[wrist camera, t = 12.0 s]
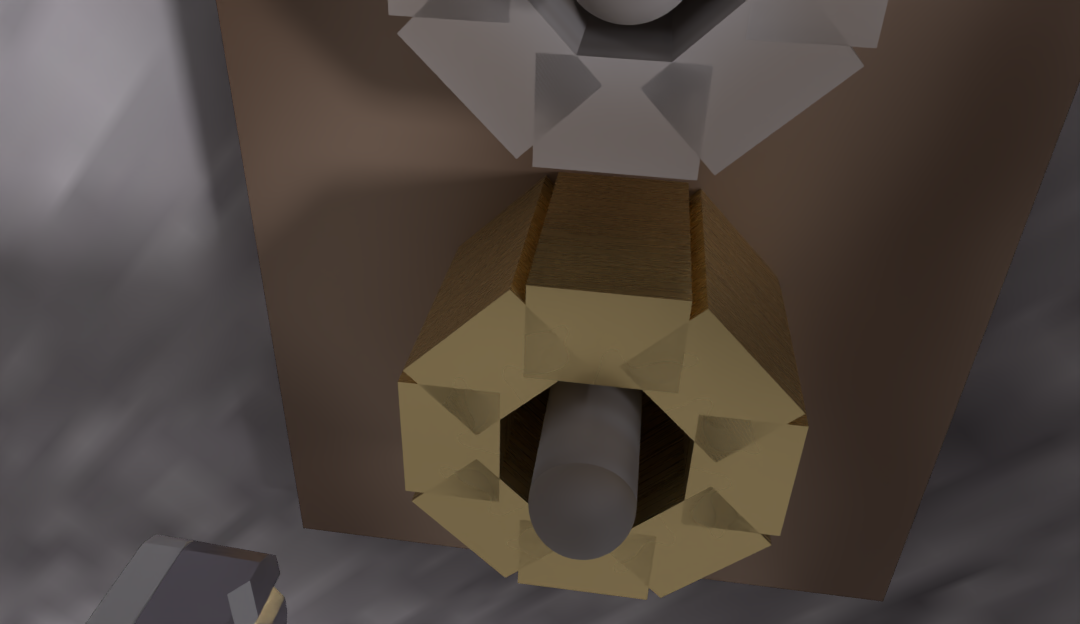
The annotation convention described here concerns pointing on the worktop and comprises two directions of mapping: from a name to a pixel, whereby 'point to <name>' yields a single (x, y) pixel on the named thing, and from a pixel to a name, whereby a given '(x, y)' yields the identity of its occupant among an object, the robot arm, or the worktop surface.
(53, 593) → the worktop surface
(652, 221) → the octagonal hollow tube
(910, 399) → the gear board
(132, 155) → the worktop surface
